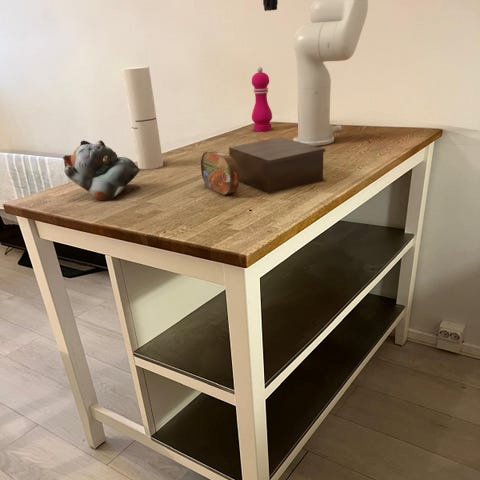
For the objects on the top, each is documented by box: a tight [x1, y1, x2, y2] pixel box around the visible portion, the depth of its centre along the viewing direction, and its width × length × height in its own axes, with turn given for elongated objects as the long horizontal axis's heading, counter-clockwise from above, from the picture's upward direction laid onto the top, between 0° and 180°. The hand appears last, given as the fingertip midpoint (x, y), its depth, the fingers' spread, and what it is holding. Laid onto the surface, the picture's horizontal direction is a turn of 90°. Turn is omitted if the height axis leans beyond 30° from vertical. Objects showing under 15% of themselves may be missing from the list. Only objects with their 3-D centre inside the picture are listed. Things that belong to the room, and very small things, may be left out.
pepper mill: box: [251, 66, 273, 133], centre depth 168 cm, size 7×7×20 cm
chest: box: [228, 149, 325, 194], centre depth 117 cm, size 18×15×7 cm
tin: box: [200, 150, 240, 196], centre depth 111 cm, size 15×3×8 cm, turn 29°
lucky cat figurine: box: [62, 139, 141, 202], centre depth 115 cm, size 15×12×14 cm
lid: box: [228, 136, 326, 164], centre depth 114 cm, size 18×15×1 cm
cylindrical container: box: [120, 65, 164, 170], centre depth 132 cm, size 7×7×25 cm
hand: (270, 10), depth 114 cm, fingers closed
